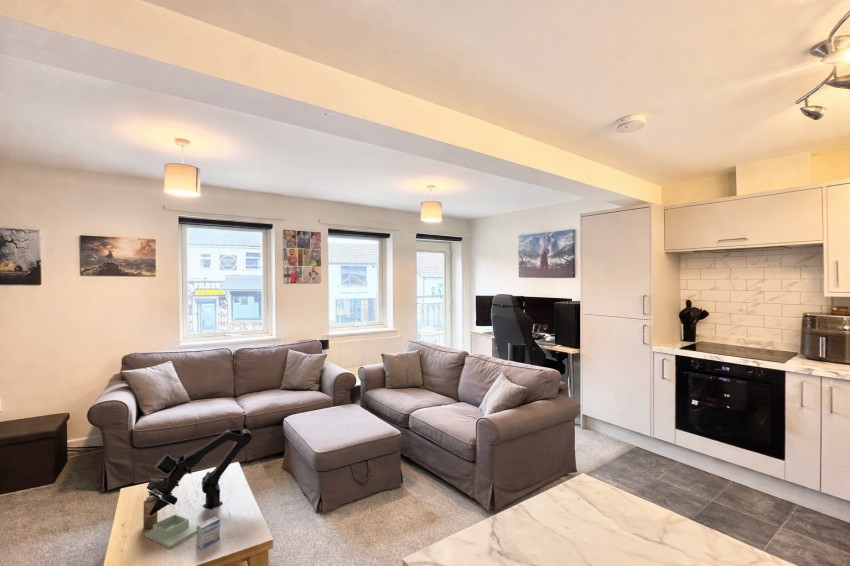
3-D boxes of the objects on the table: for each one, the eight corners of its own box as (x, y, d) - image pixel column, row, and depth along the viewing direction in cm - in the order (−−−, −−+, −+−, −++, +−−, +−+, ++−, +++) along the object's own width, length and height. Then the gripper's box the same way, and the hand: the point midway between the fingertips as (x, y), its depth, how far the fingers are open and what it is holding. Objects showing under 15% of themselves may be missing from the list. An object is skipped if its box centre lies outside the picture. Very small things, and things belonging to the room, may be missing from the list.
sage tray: (202, 530, 176) (202, 520, 176) (169, 548, 164) (169, 538, 164) (177, 518, 184) (177, 509, 184) (144, 535, 172) (144, 526, 172)
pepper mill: (159, 524, 180) (160, 496, 179) (147, 531, 175) (147, 501, 175) (153, 521, 182) (153, 493, 182) (140, 527, 177) (141, 498, 177)
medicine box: (201, 549, 164) (201, 528, 164) (195, 545, 166) (196, 525, 166) (220, 539, 170) (220, 519, 170) (214, 535, 173) (214, 515, 173)
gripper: (151, 465, 187) (123, 499, 178) (170, 476, 176) (141, 513, 167) (169, 475, 193) (143, 508, 184) (188, 487, 183) (161, 522, 174)
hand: (147, 513), depth 177 cm, fingers closed on pepper mill, 5 cm apart
